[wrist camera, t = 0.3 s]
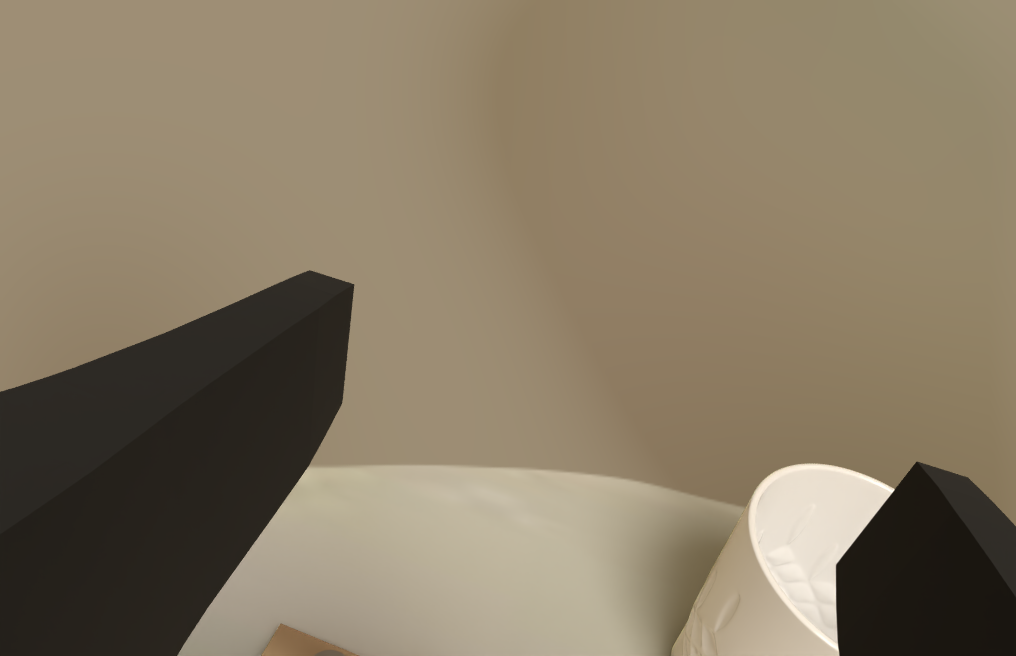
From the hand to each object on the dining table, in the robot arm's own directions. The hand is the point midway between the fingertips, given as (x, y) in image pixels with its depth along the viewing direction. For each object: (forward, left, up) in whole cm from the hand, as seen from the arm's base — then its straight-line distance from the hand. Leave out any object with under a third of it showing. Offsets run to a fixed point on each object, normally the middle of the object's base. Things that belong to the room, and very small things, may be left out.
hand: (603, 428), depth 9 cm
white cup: (+10, -10, -21) cm, 26 cm away
